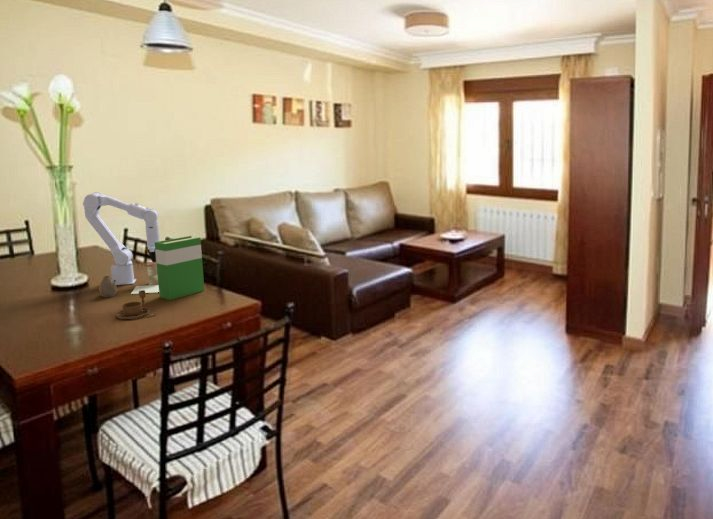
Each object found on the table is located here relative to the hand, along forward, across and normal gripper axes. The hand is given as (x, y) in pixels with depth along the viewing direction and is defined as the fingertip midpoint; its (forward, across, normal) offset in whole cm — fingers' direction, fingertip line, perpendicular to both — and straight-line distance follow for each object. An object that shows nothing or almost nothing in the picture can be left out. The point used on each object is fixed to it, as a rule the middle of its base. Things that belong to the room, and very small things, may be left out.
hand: (155, 263), depth 259 cm
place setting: (+9, -48, 0) cm, 49 cm away
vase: (+9, -22, +17) cm, 29 cm away
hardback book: (+9, -26, -14) cm, 30 cm away
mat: (+8, -15, 0) cm, 17 cm away
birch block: (+8, -6, 0) cm, 10 cm away
